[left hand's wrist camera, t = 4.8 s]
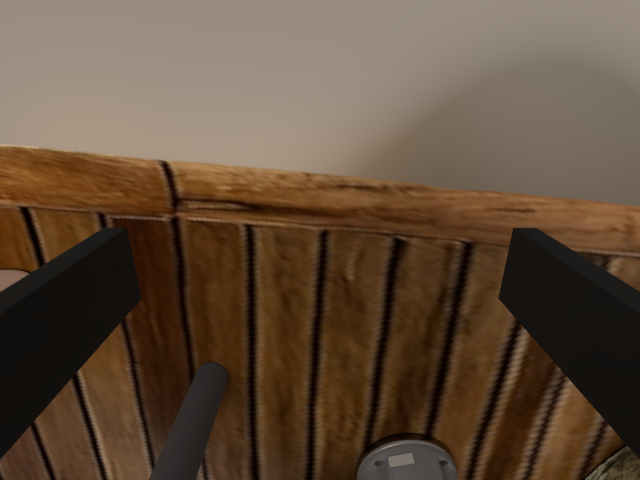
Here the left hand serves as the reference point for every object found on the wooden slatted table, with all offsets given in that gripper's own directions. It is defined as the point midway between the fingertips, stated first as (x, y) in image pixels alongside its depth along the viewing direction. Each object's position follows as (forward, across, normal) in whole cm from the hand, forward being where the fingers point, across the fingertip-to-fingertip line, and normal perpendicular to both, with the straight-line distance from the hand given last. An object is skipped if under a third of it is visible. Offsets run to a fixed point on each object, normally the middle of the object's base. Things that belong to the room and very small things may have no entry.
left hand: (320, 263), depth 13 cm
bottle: (+28, +15, +31) cm, 44 cm away
